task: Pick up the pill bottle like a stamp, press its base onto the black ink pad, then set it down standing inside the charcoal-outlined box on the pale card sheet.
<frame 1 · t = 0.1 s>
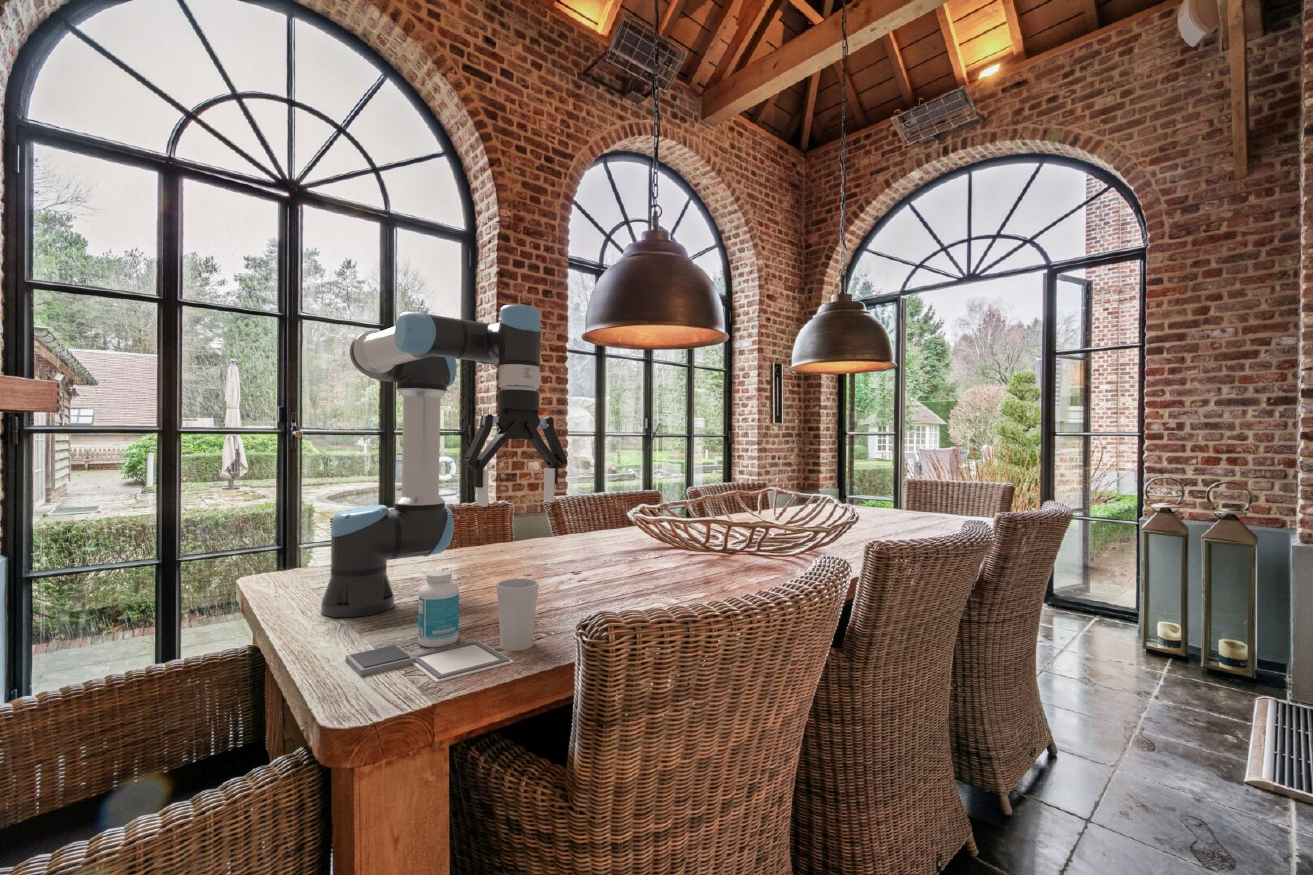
hand: (516, 504, 112), 28 cm above the table, fingers open, 13 cm apart
sheet: (459, 660, 108), on the table
pill bottle: (438, 643, 118), on the table
cup: (516, 646, 117), on the table
ink pad: (380, 662, 107), on the table
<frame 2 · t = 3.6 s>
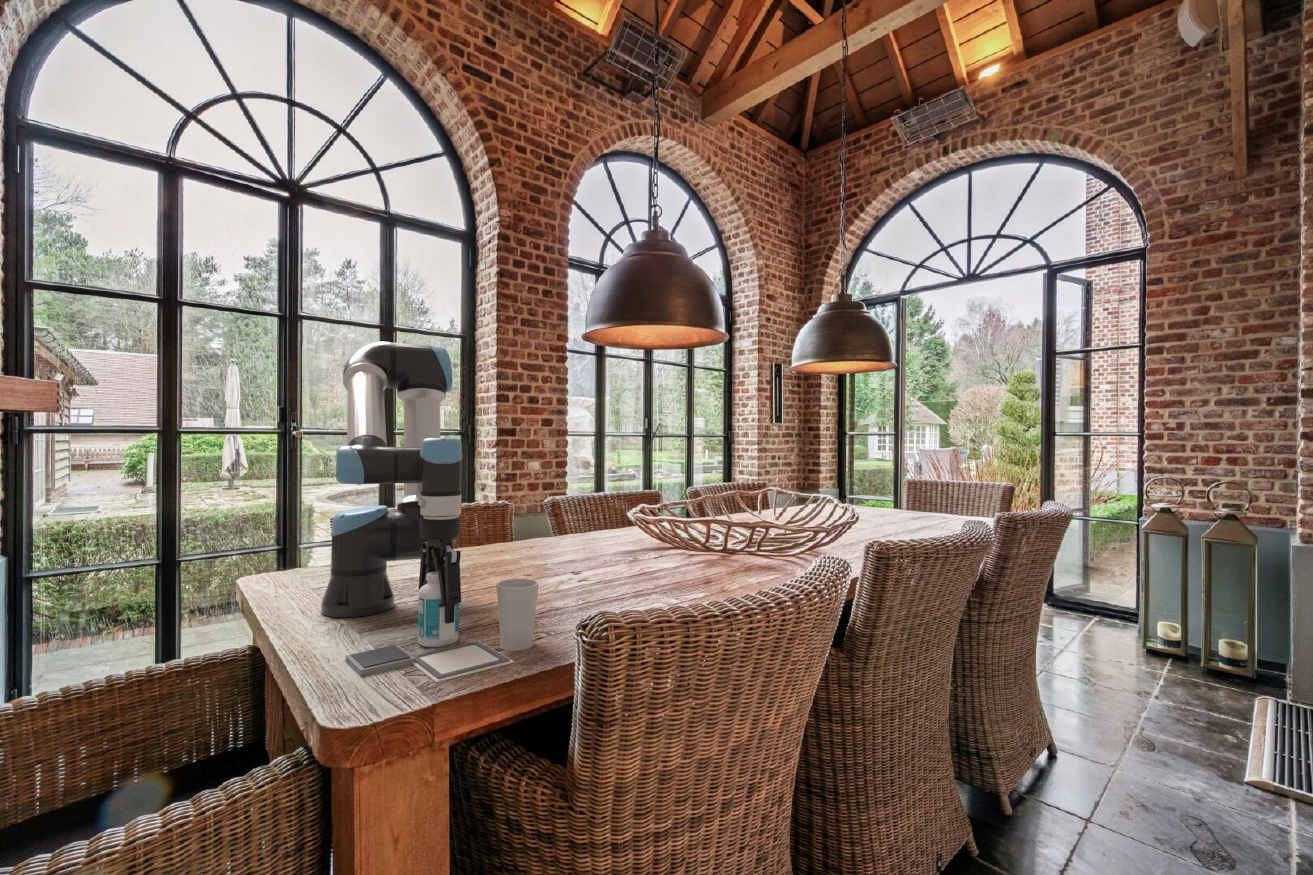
hand: (438, 633, 118), 2 cm above the table, fingers closed on pill bottle, 7 cm apart
pill bottle: (438, 643, 118), on the table, touching gripper
everything else where it was.
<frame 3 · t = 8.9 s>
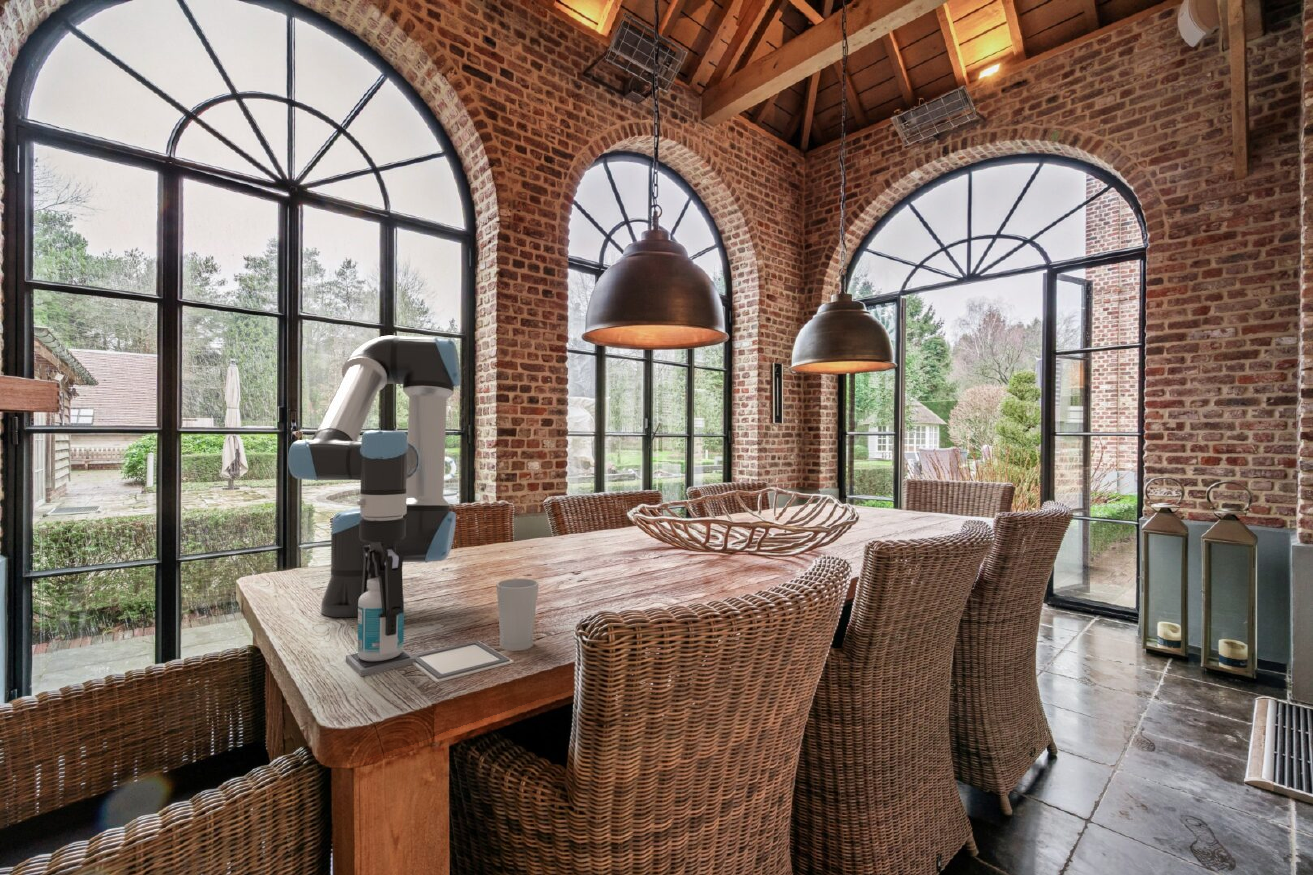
hand: (380, 646, 107), 3 cm above the table, fingers closed on pill bottle, 7 cm apart
pill bottle: (380, 656, 107), point 1 cm above the table, touching gripper, ink pad
everything else where it was.
when the fingers open (4 cm above the table, at t = 14.2 s): pill bottle drops 2 cm, resting on sheet.
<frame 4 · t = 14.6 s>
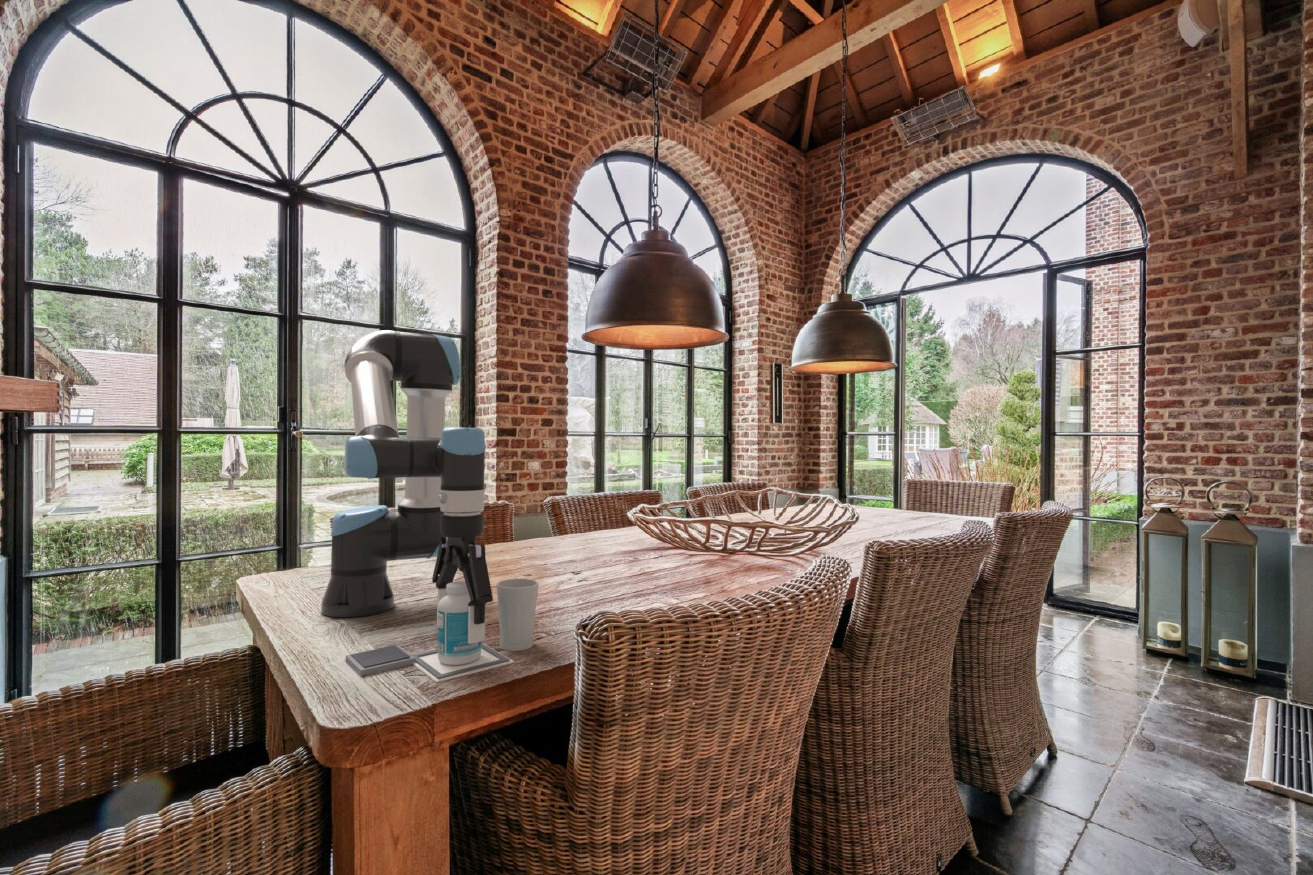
hand: (459, 632, 108), 5 cm above the table, fingers open, 13 cm apart
pill bottle: (459, 660, 108), resting on sheet
everything else where it was.
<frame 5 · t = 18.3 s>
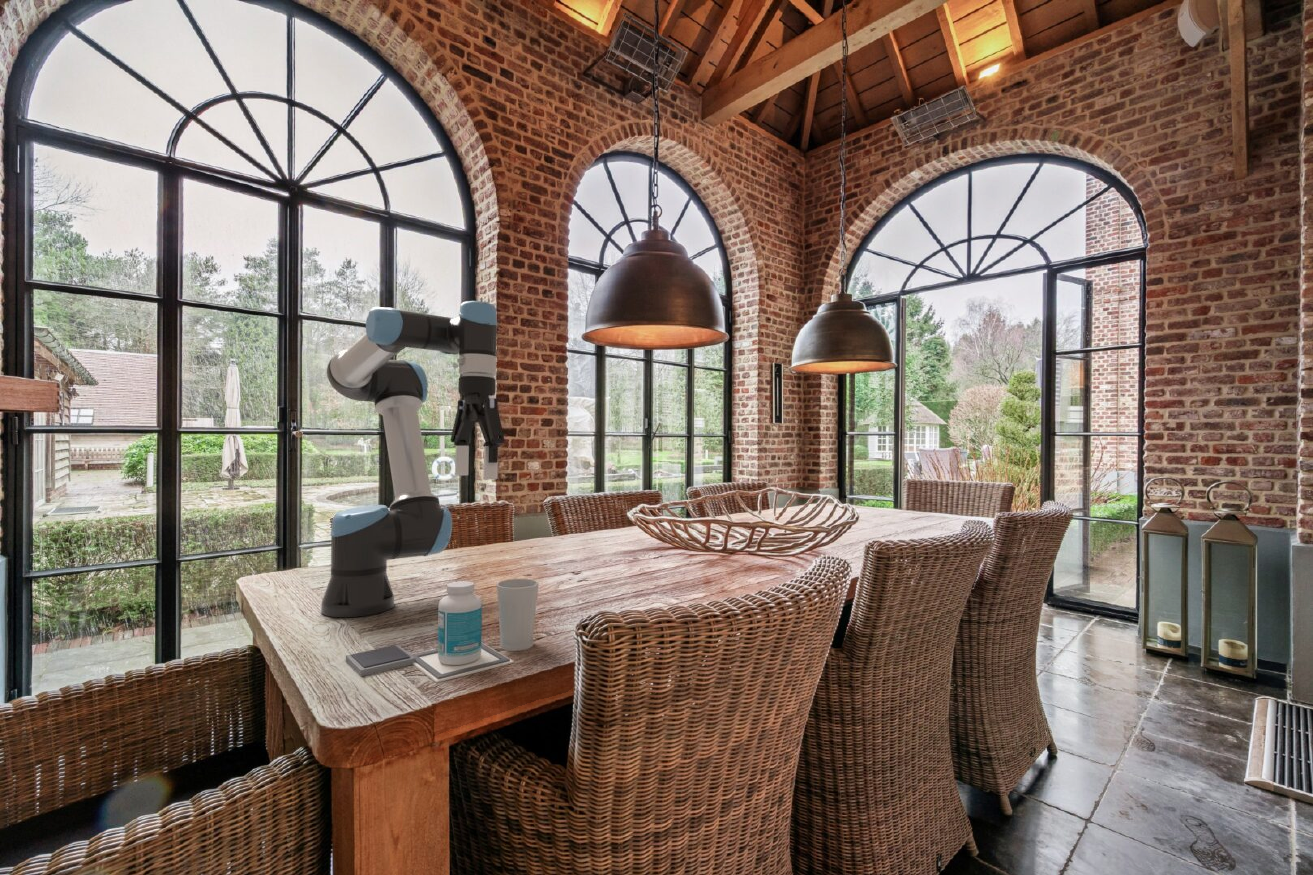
hand: (475, 477, 127), 32 cm above the table, fingers open, 13 cm apart
nothing on the table moved.
at the end: pill bottle inside the target area on the sheet (0.1 cm from its centre), point 0.1 cm above the sheet's base; pill bottle tilted 0°; the gripper is holding nothing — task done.
